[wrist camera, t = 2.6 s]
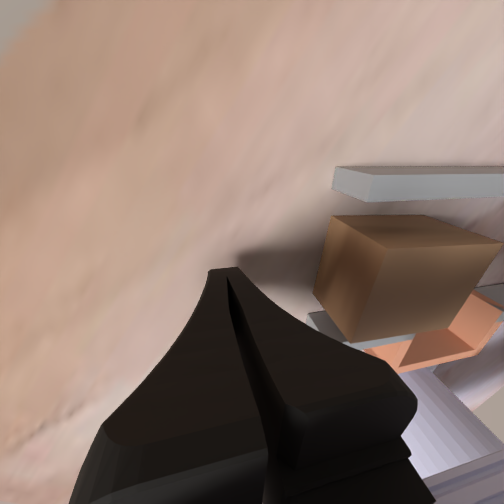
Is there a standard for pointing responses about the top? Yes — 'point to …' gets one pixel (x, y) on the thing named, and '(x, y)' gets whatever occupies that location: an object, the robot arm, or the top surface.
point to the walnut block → (398, 273)
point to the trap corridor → (480, 300)
